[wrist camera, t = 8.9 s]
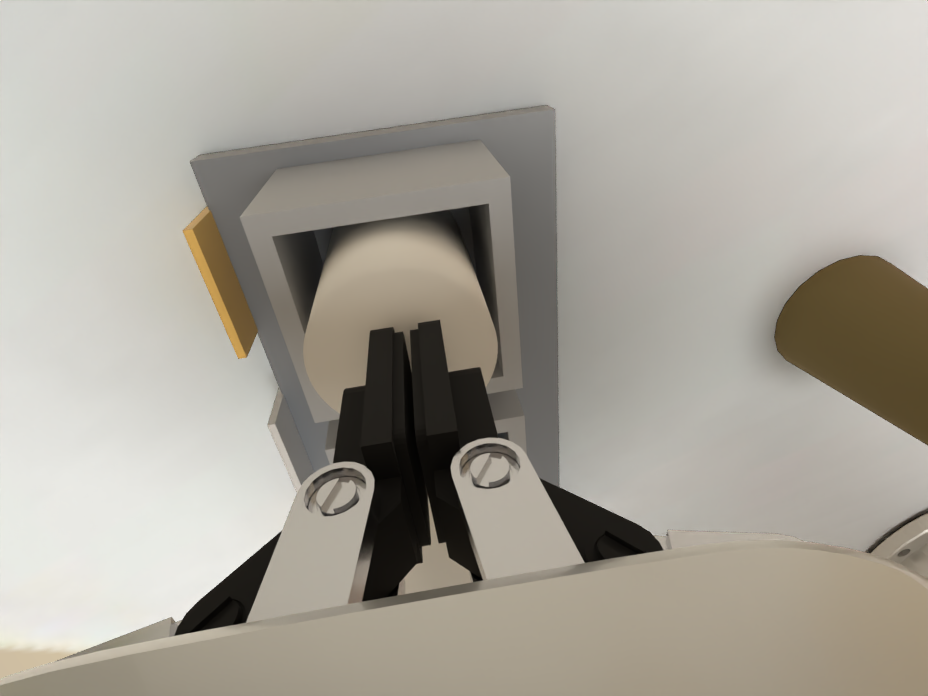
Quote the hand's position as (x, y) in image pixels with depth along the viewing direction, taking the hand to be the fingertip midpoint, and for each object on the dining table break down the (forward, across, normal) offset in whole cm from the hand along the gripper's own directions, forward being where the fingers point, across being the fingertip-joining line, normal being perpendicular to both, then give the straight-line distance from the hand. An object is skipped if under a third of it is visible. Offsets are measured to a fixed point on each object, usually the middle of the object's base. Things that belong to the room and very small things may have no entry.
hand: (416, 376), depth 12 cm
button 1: (+8, 0, 0) cm, 8 cm away
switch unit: (+9, 0, +8) cm, 12 cm away
